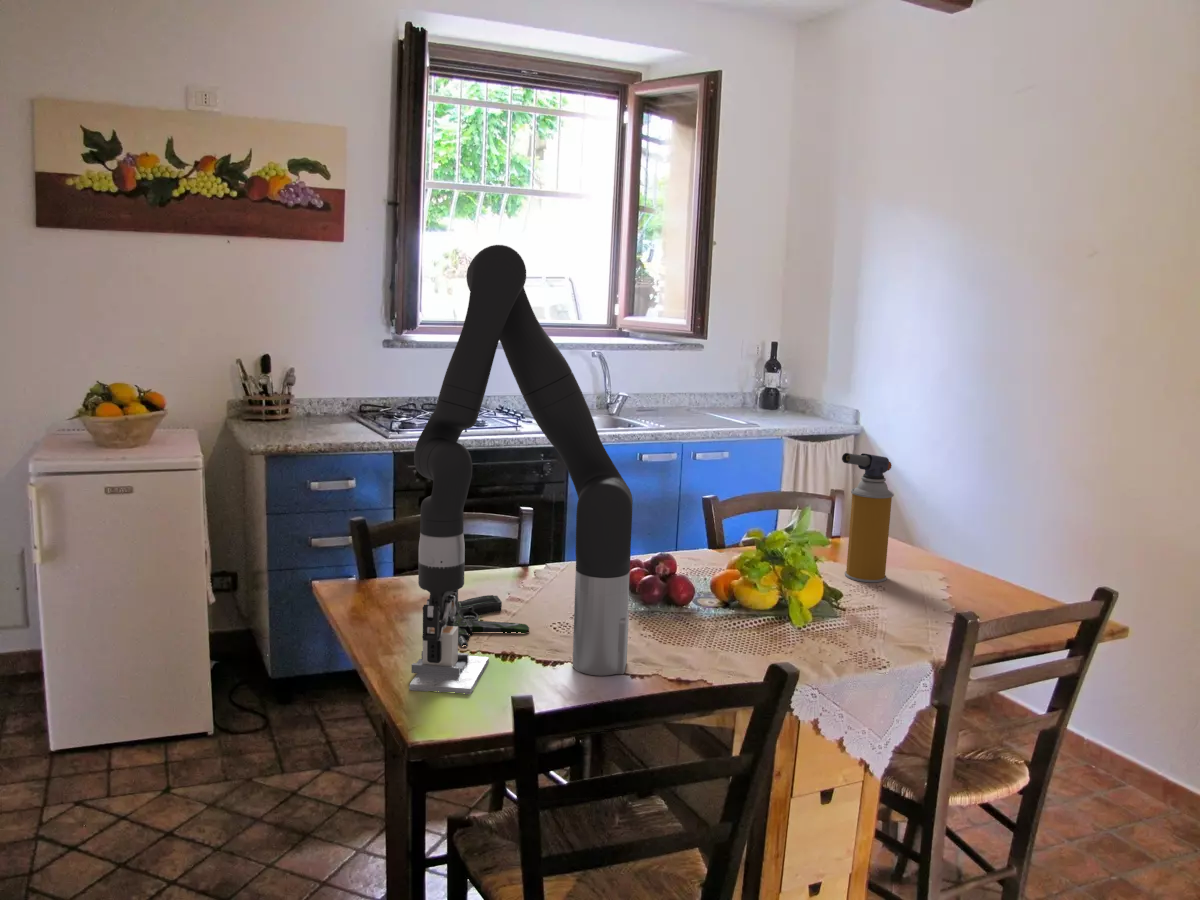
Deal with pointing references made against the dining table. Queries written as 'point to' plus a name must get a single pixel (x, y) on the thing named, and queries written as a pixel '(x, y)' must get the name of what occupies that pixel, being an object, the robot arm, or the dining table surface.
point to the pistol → (478, 607)
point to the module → (445, 647)
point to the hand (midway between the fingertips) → (440, 653)
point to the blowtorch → (869, 519)
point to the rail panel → (449, 675)
